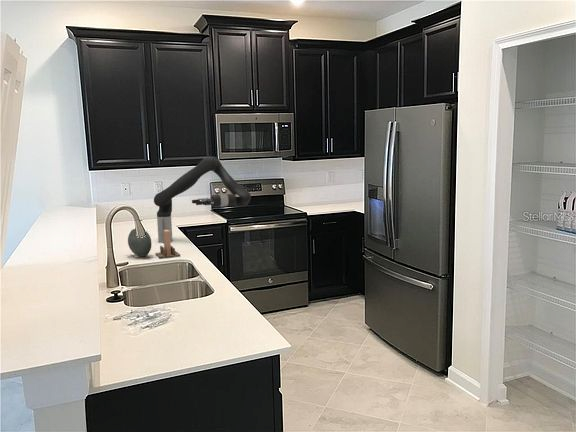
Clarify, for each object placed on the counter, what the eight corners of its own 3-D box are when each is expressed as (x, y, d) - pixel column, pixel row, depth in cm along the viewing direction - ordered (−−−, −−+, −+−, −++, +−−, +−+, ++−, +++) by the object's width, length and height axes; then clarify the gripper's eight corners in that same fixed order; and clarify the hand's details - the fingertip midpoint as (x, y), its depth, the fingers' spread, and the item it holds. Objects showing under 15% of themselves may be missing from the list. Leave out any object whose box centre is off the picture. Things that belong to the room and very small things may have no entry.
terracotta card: (164, 253, 288) (163, 229, 286) (168, 252, 290) (167, 229, 287) (166, 255, 283) (165, 231, 281) (171, 254, 284) (169, 231, 282)
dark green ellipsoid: (146, 252, 295) (144, 216, 291) (154, 258, 281) (152, 220, 277) (126, 255, 289) (124, 218, 285) (134, 260, 275) (131, 222, 271)
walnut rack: (155, 254, 289) (154, 246, 288) (175, 252, 294) (174, 244, 294) (159, 258, 279) (159, 250, 278) (180, 256, 284) (180, 248, 283)
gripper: (215, 193, 305) (190, 195, 298) (223, 195, 293) (197, 197, 286) (216, 205, 306) (191, 207, 299) (223, 208, 294) (197, 210, 287)
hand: (194, 202), depth 292 cm, fingers open, 8 cm apart
